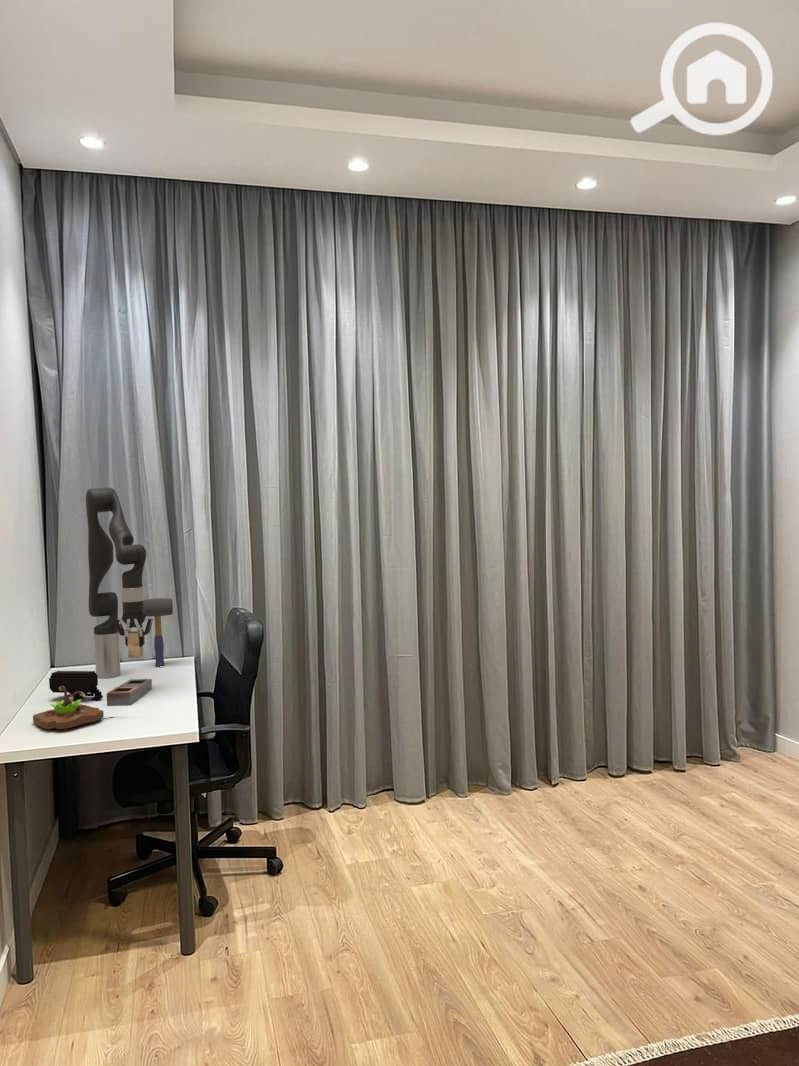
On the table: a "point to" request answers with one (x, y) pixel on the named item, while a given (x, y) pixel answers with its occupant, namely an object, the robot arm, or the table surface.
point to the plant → (67, 713)
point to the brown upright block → (134, 645)
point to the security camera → (76, 683)
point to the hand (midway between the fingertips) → (135, 646)
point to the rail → (129, 692)
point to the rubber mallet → (158, 623)
